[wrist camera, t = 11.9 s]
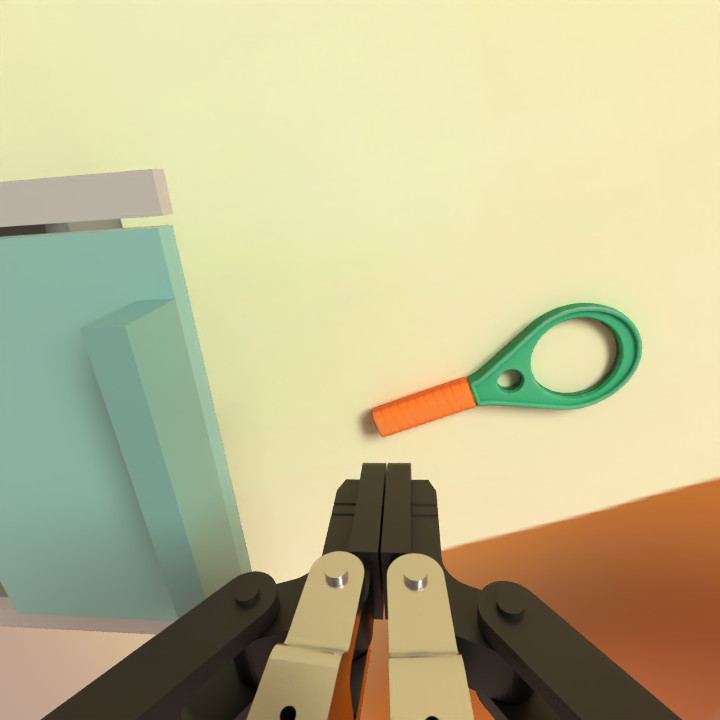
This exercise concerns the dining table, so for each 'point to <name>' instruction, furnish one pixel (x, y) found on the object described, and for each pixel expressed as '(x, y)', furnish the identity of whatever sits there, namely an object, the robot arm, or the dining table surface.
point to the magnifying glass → (527, 390)
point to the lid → (108, 432)
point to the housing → (70, 214)
